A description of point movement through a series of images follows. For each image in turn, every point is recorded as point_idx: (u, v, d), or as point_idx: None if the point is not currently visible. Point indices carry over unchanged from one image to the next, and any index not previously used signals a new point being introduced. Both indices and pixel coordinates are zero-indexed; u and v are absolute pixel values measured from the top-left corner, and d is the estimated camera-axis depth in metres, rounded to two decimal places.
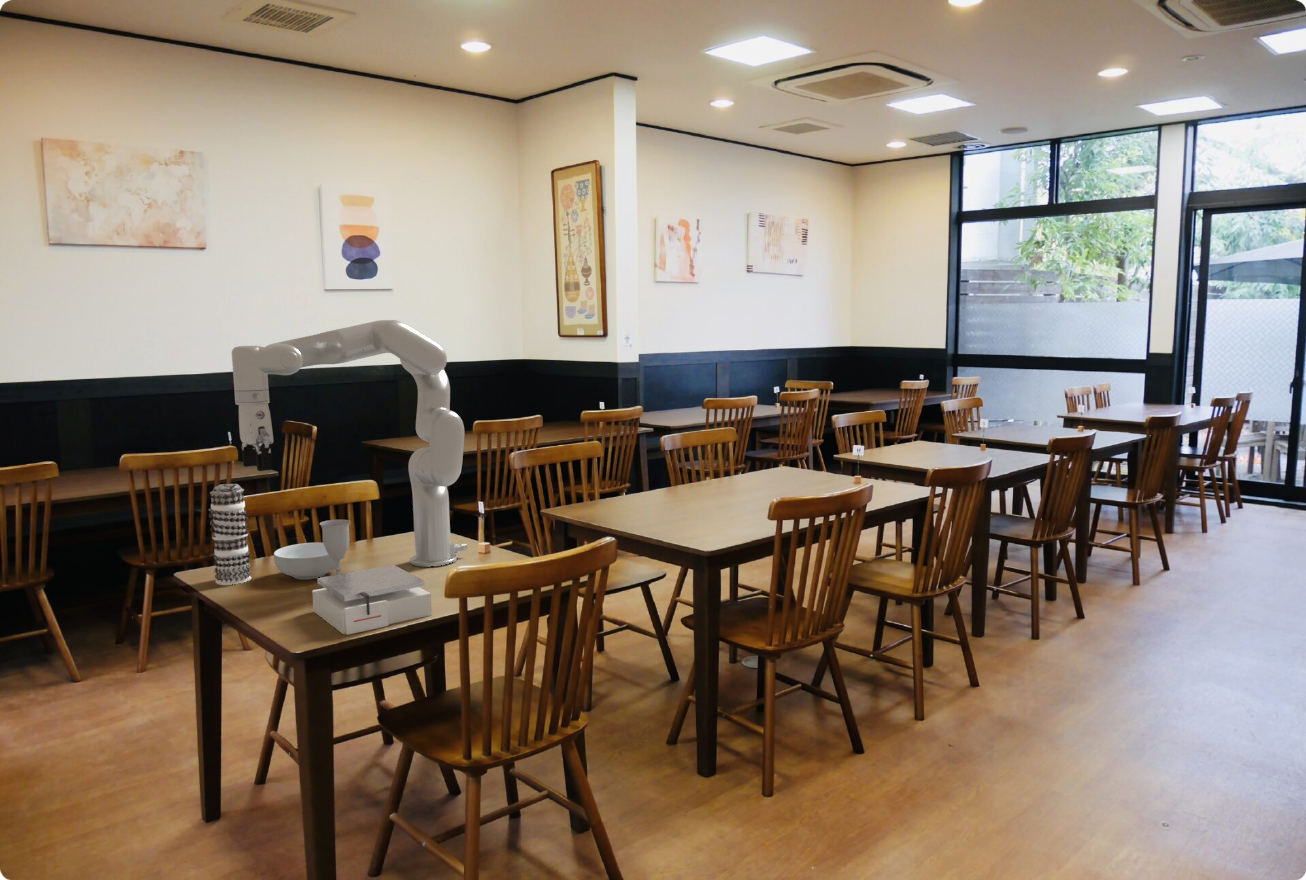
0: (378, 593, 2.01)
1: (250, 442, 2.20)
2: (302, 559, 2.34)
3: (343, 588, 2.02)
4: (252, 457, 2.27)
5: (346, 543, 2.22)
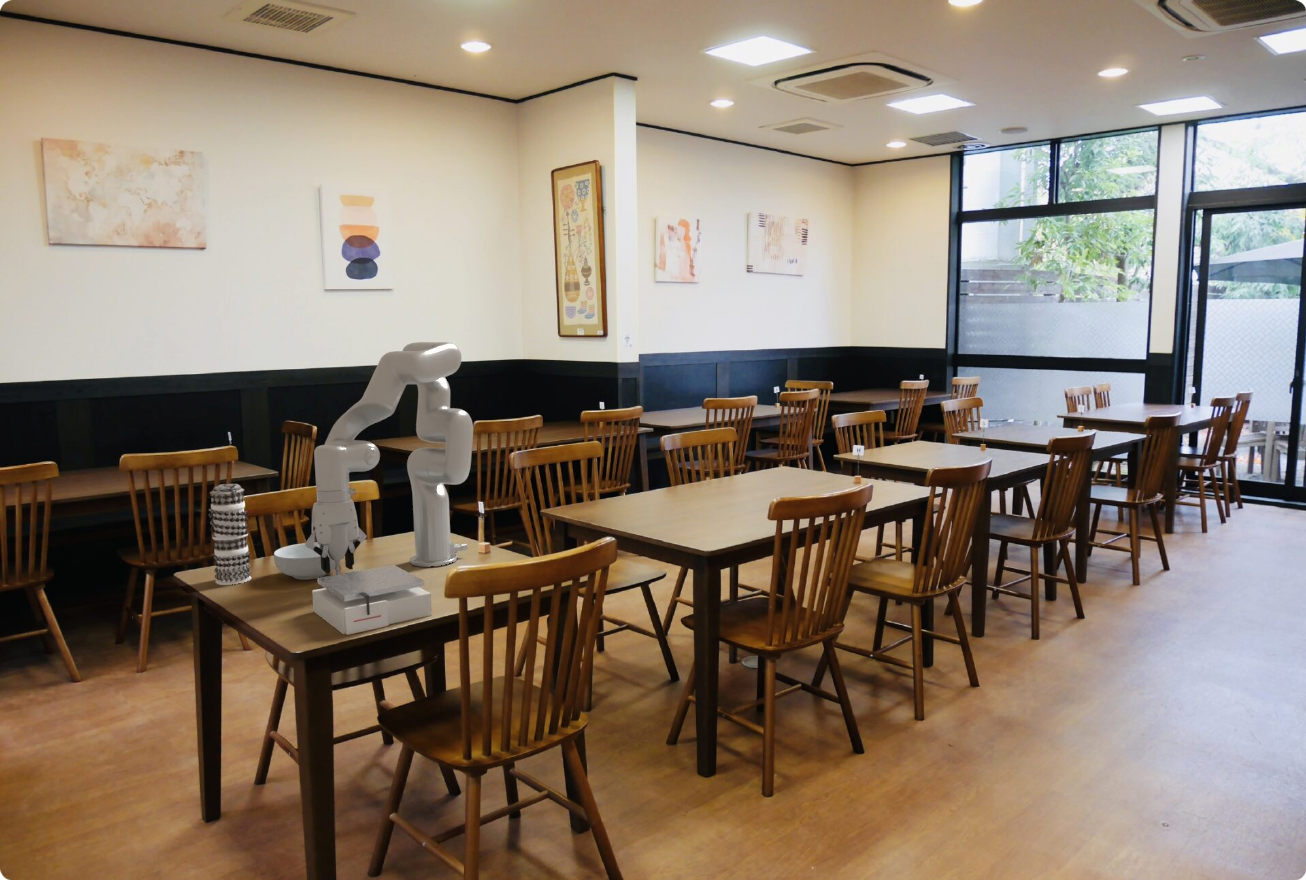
0: (378, 593, 2.01)
1: (350, 538, 2.23)
2: (301, 559, 2.34)
3: (343, 588, 2.02)
4: None
5: (346, 543, 2.22)
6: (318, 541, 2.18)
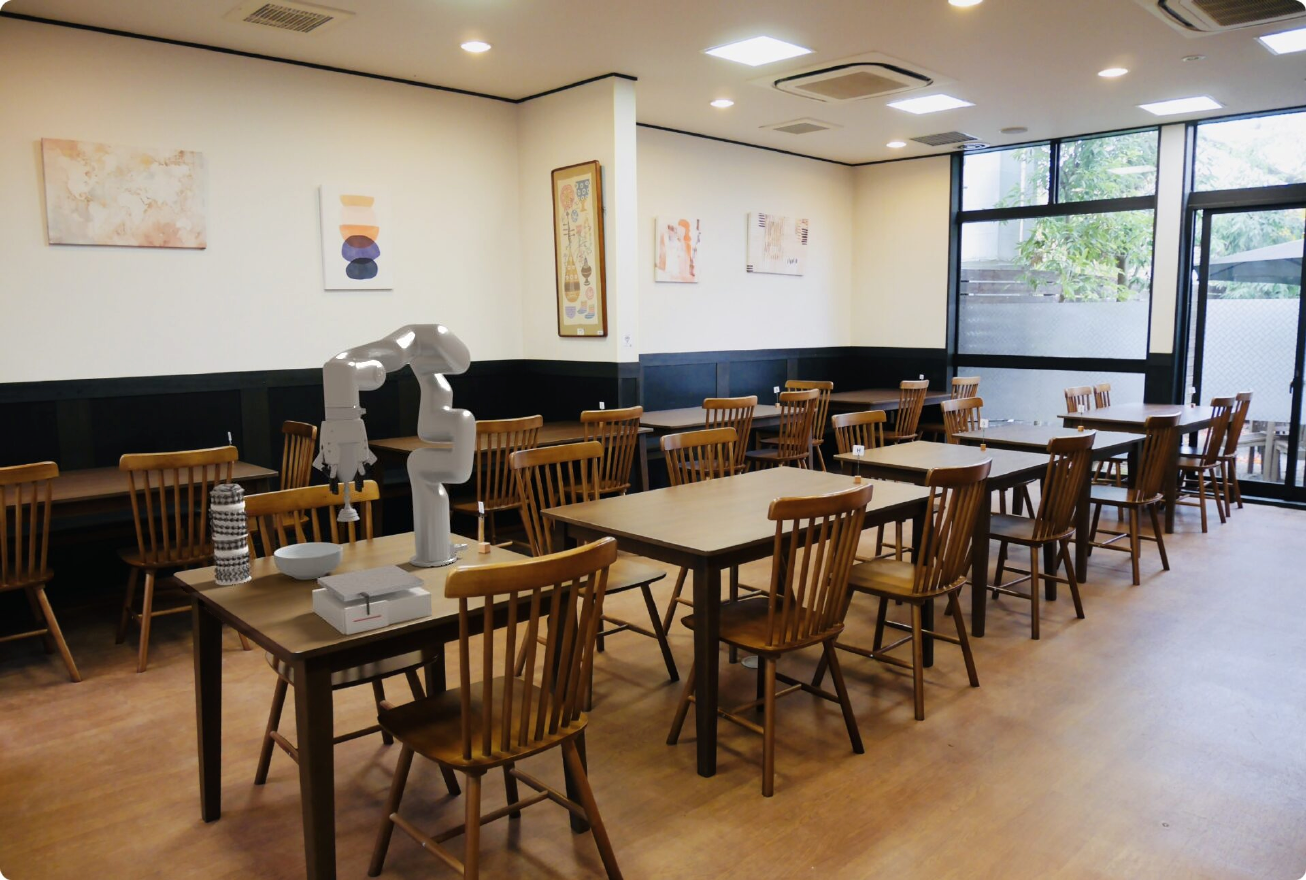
0: (378, 593, 2.01)
1: (360, 459, 2.13)
2: (302, 559, 2.34)
3: (343, 588, 2.02)
4: None
5: (355, 464, 2.12)
6: (326, 460, 2.09)
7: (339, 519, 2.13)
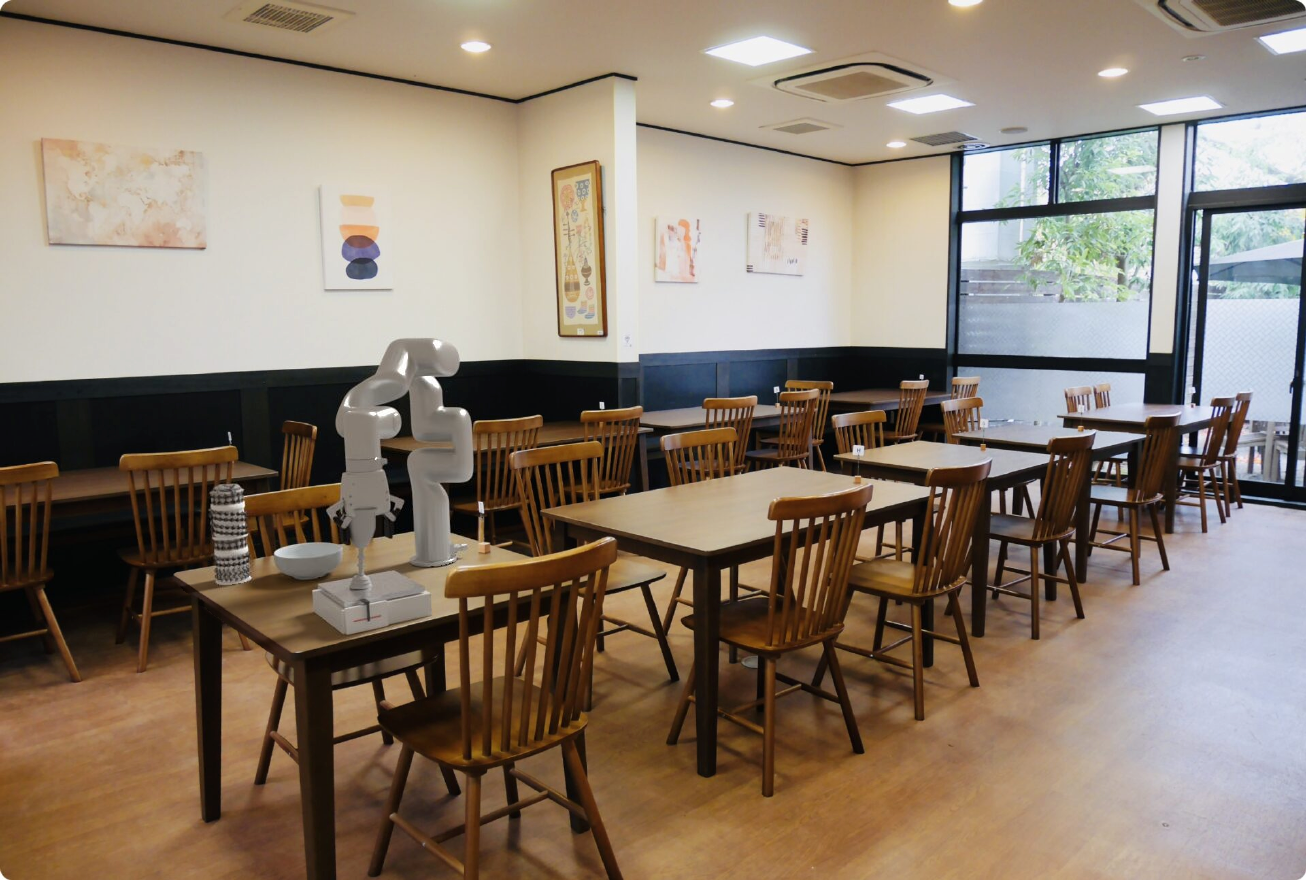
0: (378, 599, 2.01)
1: (381, 511, 2.07)
2: (302, 559, 2.34)
3: (343, 594, 2.02)
4: None
5: (372, 530, 2.06)
6: (348, 514, 2.03)
7: (352, 586, 2.06)
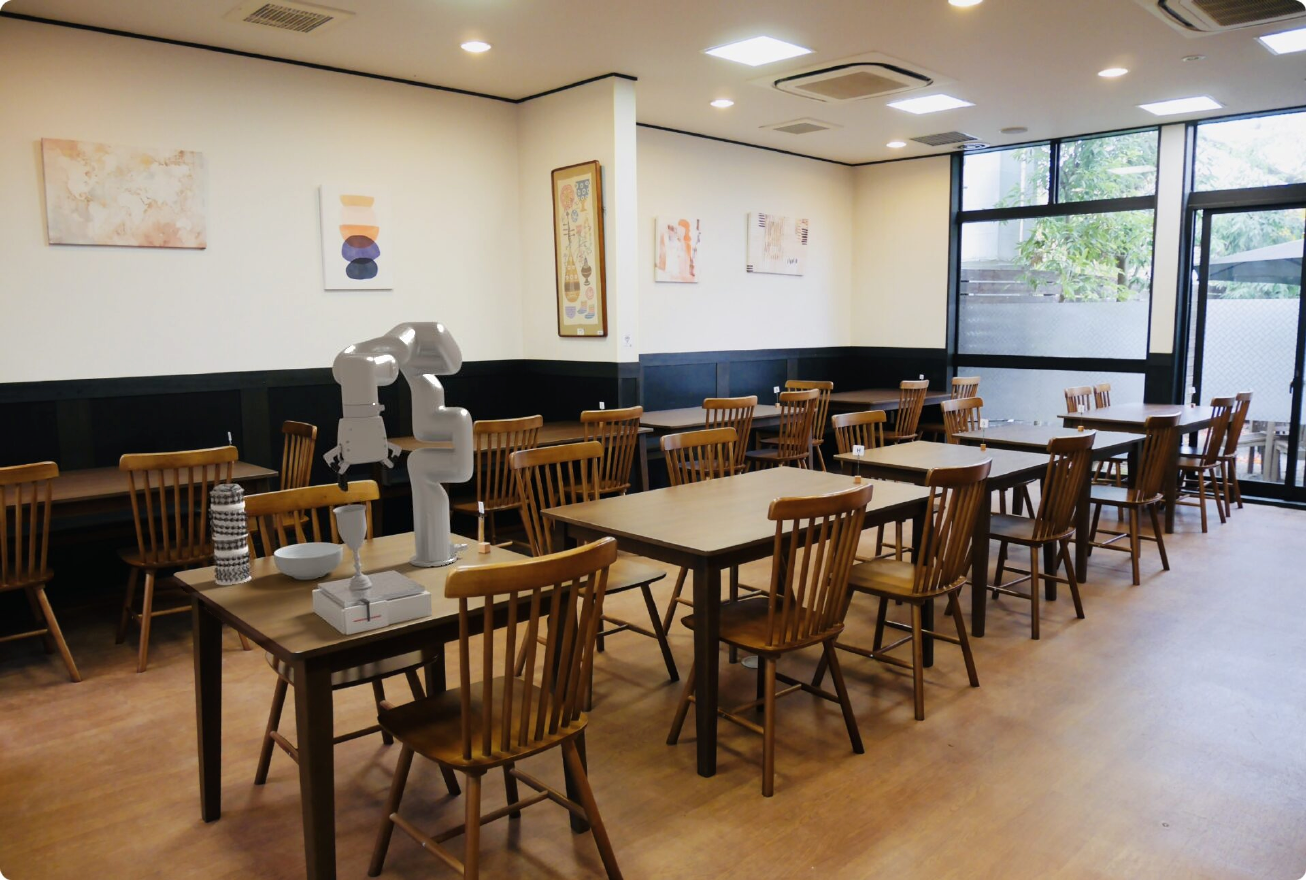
0: (378, 599, 2.01)
1: (379, 457, 2.06)
2: (301, 559, 2.34)
3: (343, 594, 2.02)
4: None
5: (363, 530, 2.05)
6: (345, 459, 2.02)
7: (351, 587, 2.06)
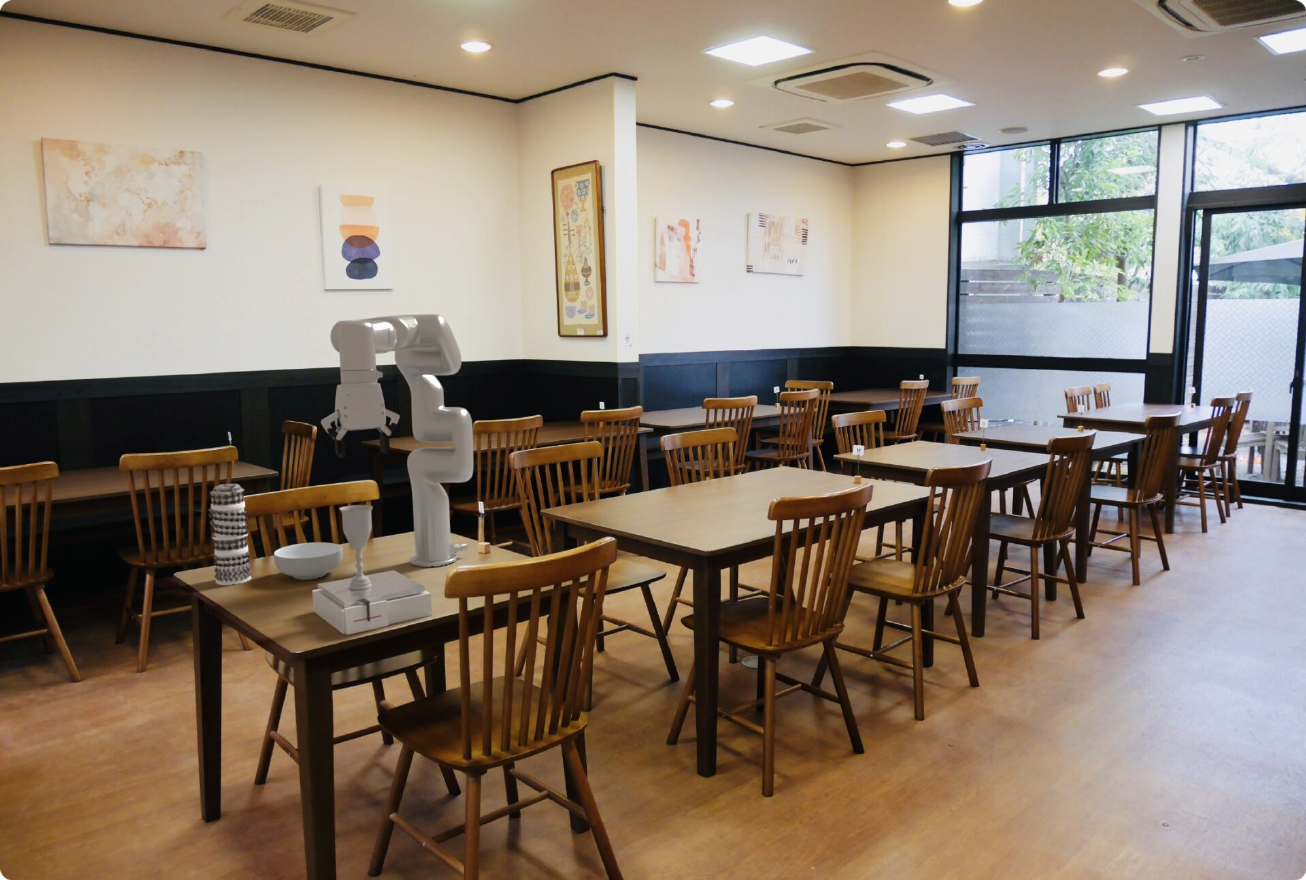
0: (378, 599, 2.01)
1: (377, 424, 2.05)
2: (301, 559, 2.34)
3: (343, 594, 2.02)
4: None
5: (368, 530, 2.06)
6: (342, 425, 2.00)
7: (351, 587, 2.06)
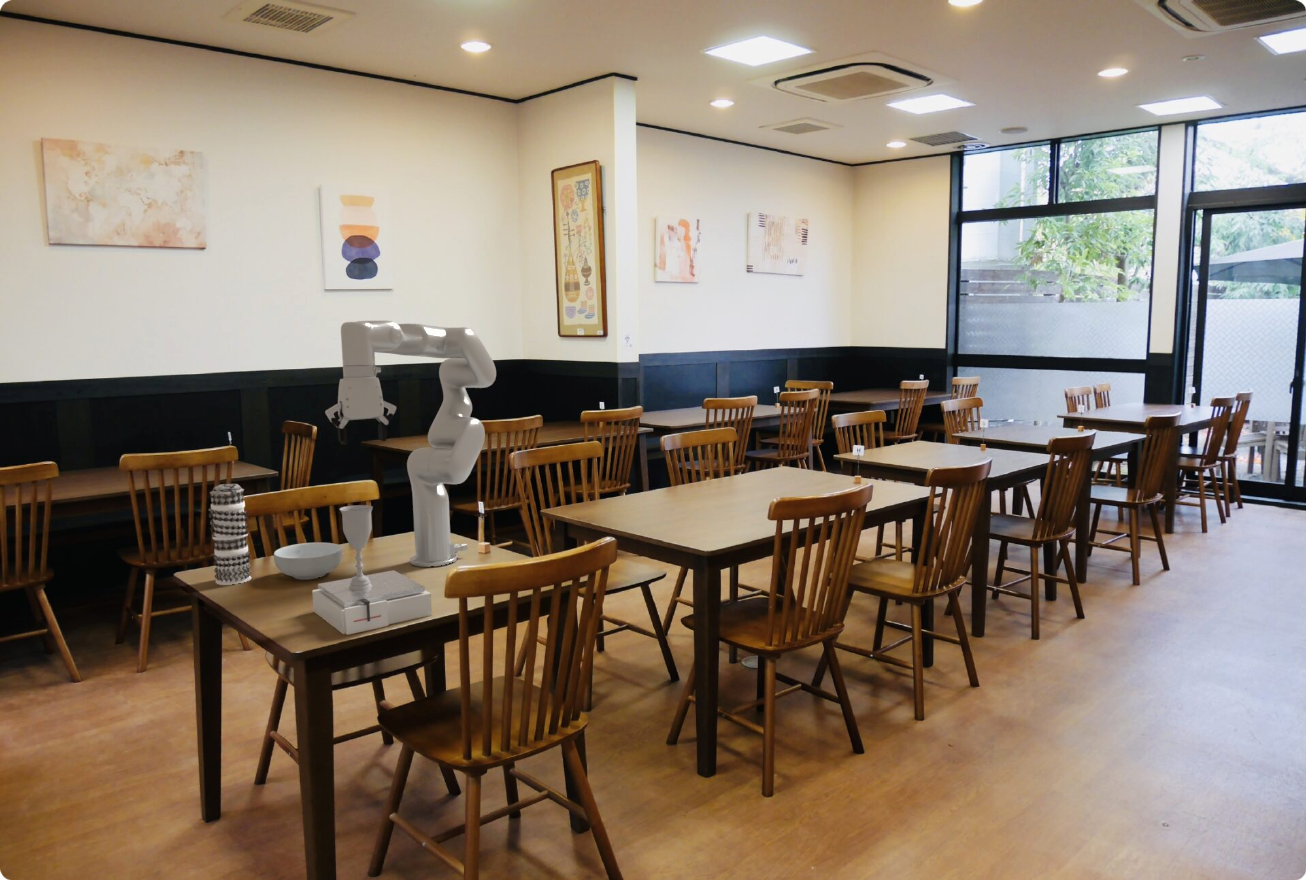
0: (378, 599, 2.01)
1: (376, 415, 2.27)
2: (302, 559, 2.34)
3: (343, 594, 2.02)
4: None
5: (368, 530, 2.05)
6: (345, 415, 2.22)
7: (351, 587, 2.06)
